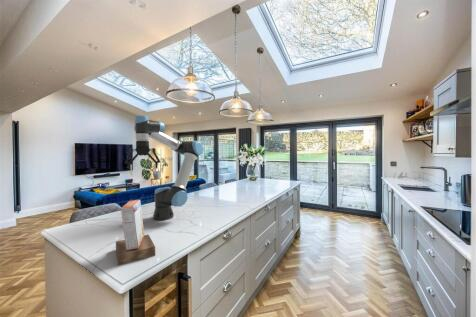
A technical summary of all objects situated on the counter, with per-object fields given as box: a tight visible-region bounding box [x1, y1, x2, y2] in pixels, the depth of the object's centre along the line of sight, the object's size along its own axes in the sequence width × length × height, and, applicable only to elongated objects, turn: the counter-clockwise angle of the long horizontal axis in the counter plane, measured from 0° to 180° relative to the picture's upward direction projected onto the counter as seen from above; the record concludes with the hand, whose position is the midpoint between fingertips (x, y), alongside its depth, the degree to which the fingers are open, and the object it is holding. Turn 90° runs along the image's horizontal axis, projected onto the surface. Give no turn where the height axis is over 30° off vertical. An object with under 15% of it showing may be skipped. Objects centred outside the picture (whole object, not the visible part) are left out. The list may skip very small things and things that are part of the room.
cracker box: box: [120, 199, 145, 250], centre depth 105 cm, size 14×6×21 cm, turn 13°
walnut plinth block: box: [115, 233, 156, 266], centre depth 106 cm, size 16×18×5 cm
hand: (143, 174), depth 131 cm, fingers open, 13 cm apart
